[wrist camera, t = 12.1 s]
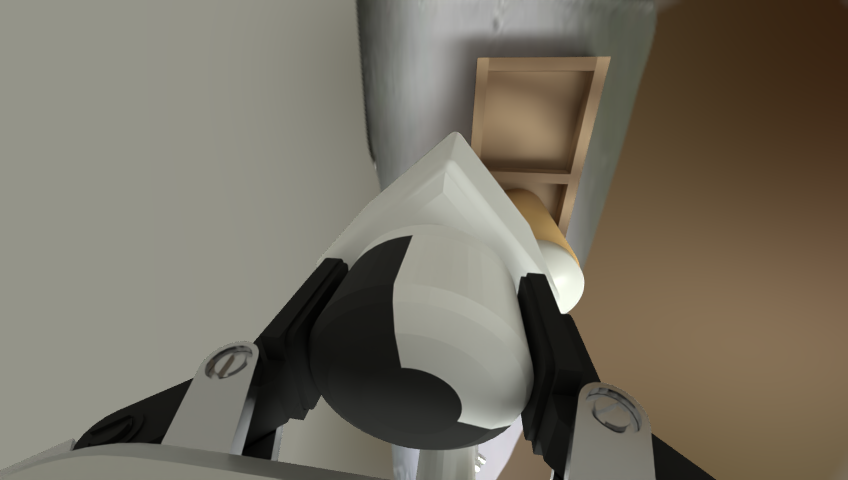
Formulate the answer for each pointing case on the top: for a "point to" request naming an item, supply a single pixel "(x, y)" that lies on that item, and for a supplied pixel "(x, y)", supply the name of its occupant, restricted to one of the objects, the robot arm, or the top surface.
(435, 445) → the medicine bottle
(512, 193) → the bottle
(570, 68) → the wooden tray
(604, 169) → the top surface
